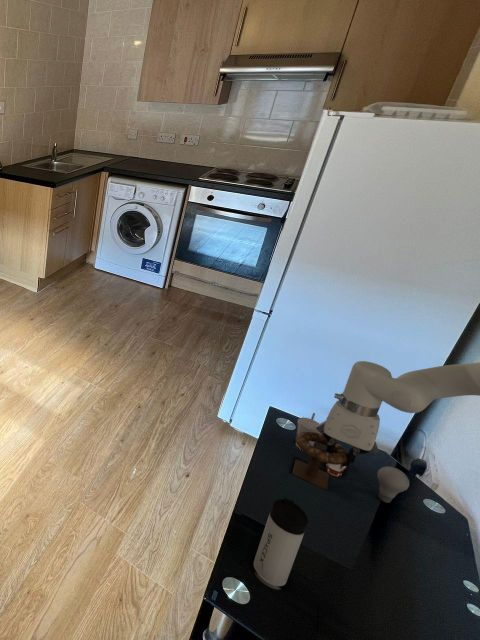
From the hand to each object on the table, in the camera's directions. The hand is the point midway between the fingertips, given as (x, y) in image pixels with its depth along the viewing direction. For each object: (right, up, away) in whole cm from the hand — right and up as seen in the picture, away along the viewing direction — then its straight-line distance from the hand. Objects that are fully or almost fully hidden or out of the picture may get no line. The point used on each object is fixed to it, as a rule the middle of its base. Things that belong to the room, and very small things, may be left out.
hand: (338, 458), depth 116 cm
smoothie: (+3, -5, +17) cm, 18 cm away
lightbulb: (+11, -11, -2) cm, 16 cm away
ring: (-3, +2, +2) cm, 4 cm away
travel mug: (-37, -16, -22) cm, 46 cm away
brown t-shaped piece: (-3, -8, +6) cm, 11 cm away
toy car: (+6, -8, +9) cm, 13 cm away
